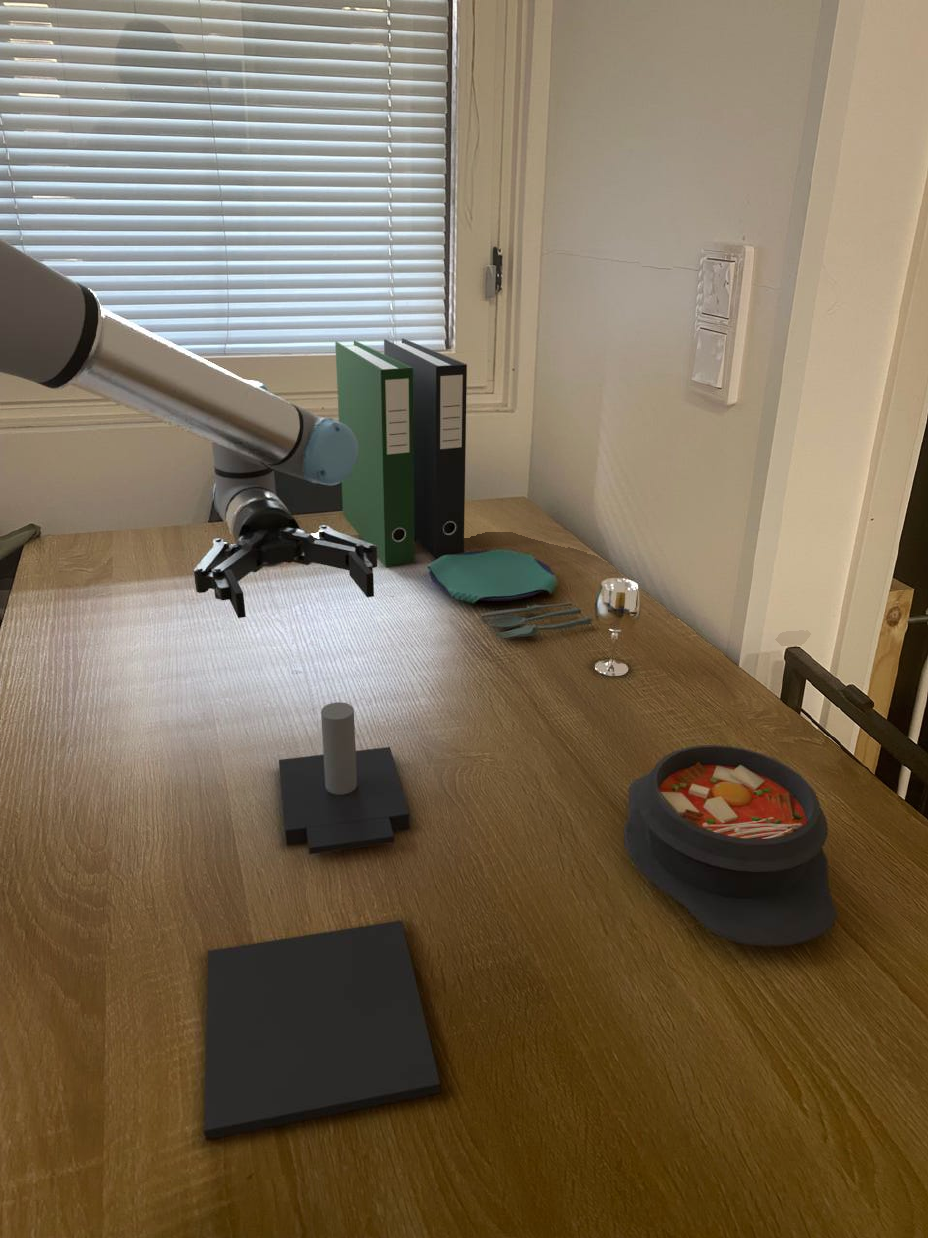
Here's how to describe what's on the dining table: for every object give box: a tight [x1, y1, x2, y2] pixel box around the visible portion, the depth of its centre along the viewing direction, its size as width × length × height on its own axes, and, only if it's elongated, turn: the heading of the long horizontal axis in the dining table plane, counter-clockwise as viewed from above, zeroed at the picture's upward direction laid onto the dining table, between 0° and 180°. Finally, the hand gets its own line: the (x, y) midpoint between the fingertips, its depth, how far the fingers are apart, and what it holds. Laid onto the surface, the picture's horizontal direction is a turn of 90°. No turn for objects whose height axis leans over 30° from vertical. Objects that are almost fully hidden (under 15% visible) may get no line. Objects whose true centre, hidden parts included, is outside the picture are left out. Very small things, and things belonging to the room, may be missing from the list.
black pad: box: [203, 919, 441, 1141], centre depth 69 cm, size 16×16×1 cm
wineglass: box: [594, 577, 641, 677], centre depth 118 cm, size 6×6×12 cm
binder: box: [335, 338, 468, 568], centre depth 157 cm, size 27×15×32 cm, turn 23°
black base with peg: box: [278, 701, 410, 855], centre depth 90 cm, size 12×15×11 cm
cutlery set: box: [427, 548, 593, 639], centre depth 140 cm, size 20×30×2 cm, turn 19°
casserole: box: [623, 744, 838, 947], centre depth 84 cm, size 25×19×8 cm
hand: (307, 595), depth 94 cm, fingers open, 13 cm apart
